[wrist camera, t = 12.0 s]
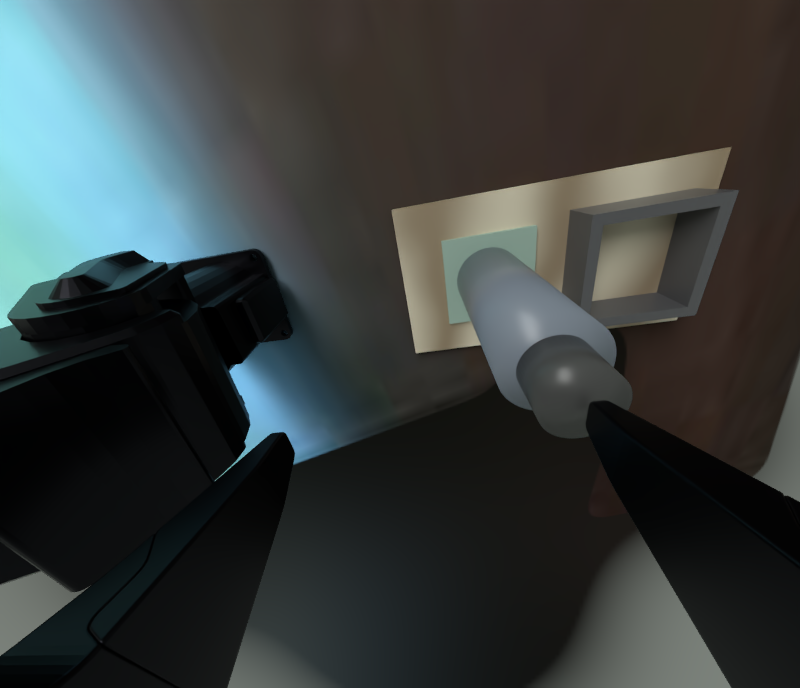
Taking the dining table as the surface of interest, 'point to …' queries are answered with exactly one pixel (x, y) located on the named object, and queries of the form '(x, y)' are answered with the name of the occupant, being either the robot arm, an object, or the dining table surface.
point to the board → (546, 236)
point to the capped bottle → (540, 343)
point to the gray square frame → (683, 265)
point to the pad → (460, 249)
